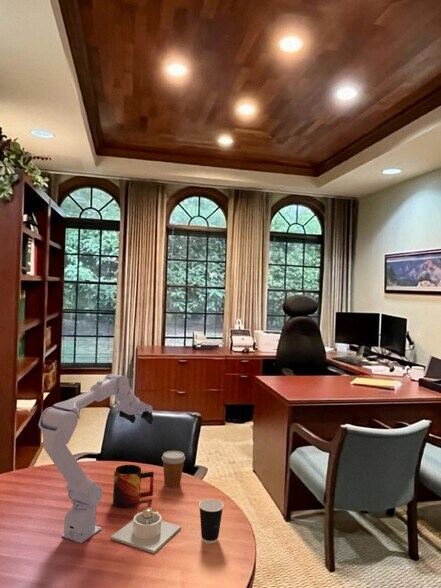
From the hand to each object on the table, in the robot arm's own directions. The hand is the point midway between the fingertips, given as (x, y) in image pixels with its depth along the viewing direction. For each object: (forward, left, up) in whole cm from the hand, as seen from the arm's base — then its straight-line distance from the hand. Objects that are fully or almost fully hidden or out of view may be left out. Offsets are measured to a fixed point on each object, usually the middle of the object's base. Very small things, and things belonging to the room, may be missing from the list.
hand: (142, 421), depth 164 cm
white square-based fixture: (-18, -16, -29) cm, 38 cm away
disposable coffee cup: (+18, -4, -29) cm, 34 cm away
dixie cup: (-11, -35, -29) cm, 47 cm away
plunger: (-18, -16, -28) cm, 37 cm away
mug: (-2, +2, -29) cm, 30 cm away
